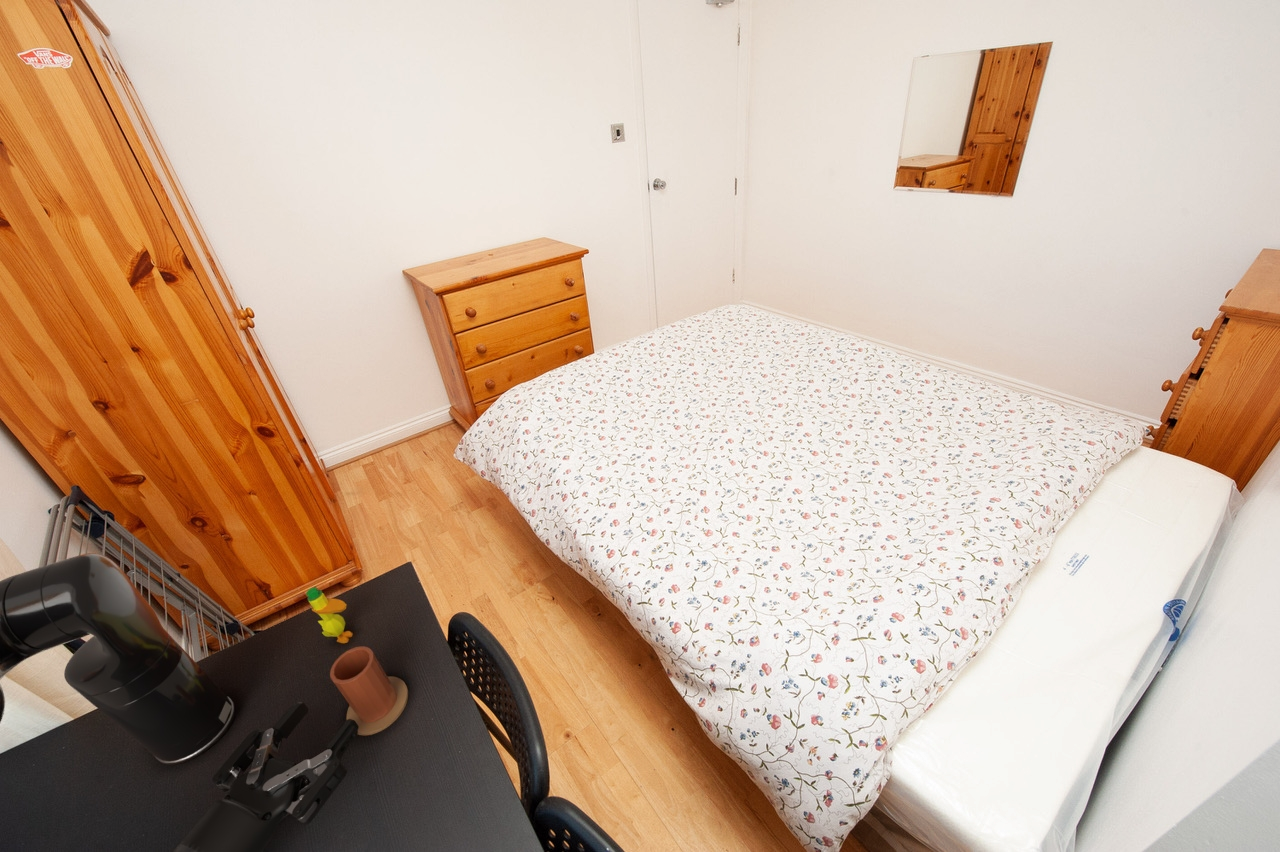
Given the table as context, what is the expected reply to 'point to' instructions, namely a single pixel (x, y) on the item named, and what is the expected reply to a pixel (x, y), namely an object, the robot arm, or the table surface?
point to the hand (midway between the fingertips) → (328, 713)
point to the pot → (364, 684)
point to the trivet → (390, 717)
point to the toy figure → (329, 614)
